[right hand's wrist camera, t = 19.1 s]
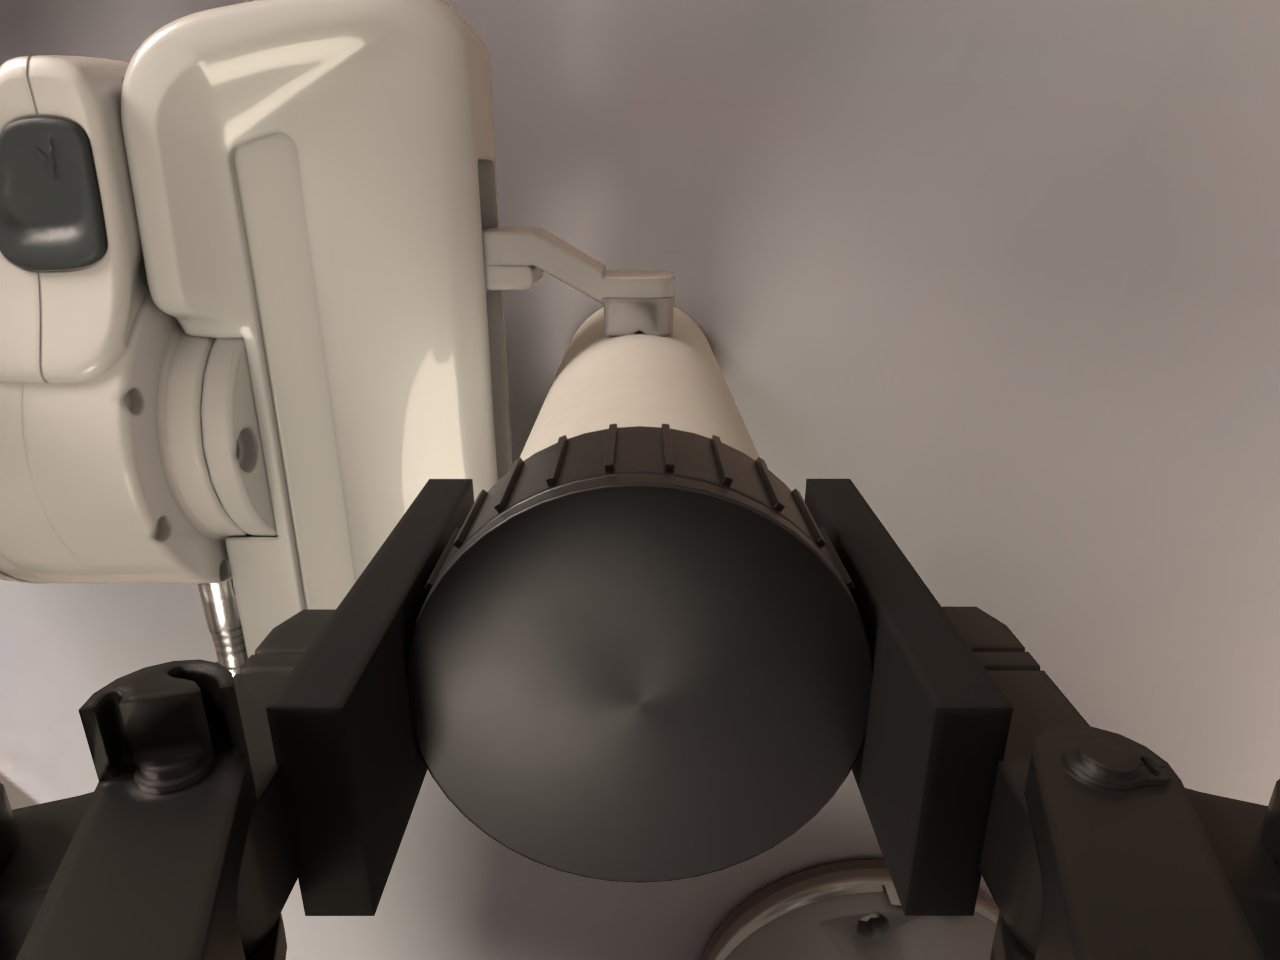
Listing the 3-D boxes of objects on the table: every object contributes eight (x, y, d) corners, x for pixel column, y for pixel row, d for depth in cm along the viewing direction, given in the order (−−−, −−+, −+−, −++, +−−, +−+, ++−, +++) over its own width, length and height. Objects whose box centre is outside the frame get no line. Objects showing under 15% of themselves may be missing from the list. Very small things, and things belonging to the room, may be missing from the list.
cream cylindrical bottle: (708, 289, 27) (829, 469, 10) (719, 438, 29) (838, 808, 12) (554, 306, 27) (408, 511, 10) (574, 452, 29) (481, 838, 12)
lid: (423, 420, 11) (370, 479, 9) (854, 419, 11) (908, 477, 9) (457, 769, 13) (421, 888, 11) (822, 769, 13) (858, 886, 11)
